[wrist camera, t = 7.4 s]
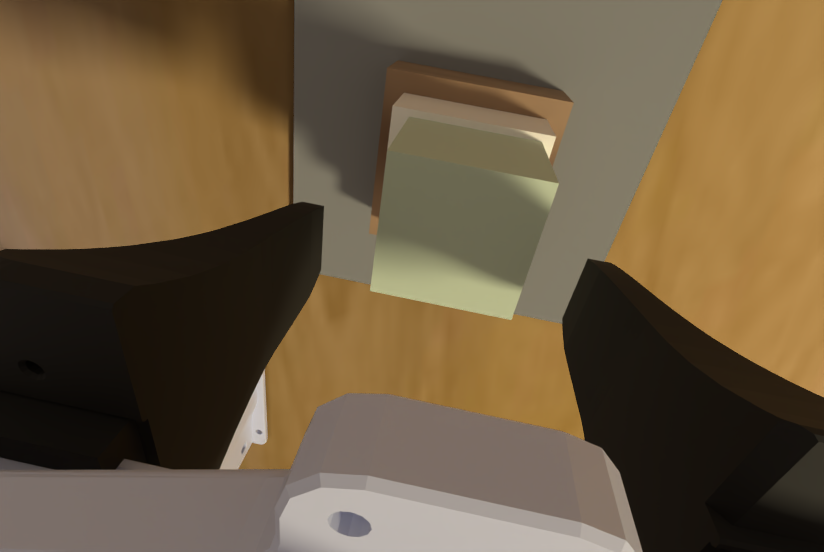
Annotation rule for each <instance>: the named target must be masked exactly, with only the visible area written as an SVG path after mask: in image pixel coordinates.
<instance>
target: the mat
mask: <svg viewBox="0 0 824 552" xmlns="http://www.w3.org/2000/svg"><path fill="white" fill-rule="evenodd" d="M721 2H722V0H294V189H293V204H294V203H298V202H307V203H312V204H317V205H322V206H324V219H323V241H322V263H321V271H320V274H322V275H327V276H332V277H337V278H341V279H346V280H351V281H356V282H361V283H366V284H371V279H372V271H373V263H374V255H375V246H376V238H377V235H374V234H369V229H370V220H371V210H372V201H373V192H374V183H375V174H376V165H377V156H378V147H379V137H380V128H381V119H382V110H383V101H384V92H385V83H386V73H387V68H388V67H389V66H391V65H392V64H393V63H395V62H396V61H398V60H399V61H404V62H410V63H415V64H421V65H426V66H431V67H437V68H442V69H447V70H453V71H458V72H464V73H469V74H474V75H480V76H485V77H490V78H496V79H501V80H507V81H512V82H517V83H523V84H528V85H534V86H539V87H544V88H550V89H555V90H560V91H564V92H565V93H566V94H567V96H568V97H569V98H570V99H571V100H572V101H573V102H574V103H573V106H572V109H571V112H570V116H569V119H568V122H567V125H566V128H565V131H564V134H563V137H562V140H561V143H560V146H559V149H558V152H557V155H556V158H555V161H554V164H553V170H554V172H555V175H556V177H557V180H558V182H559V185H558V188H557V191H556V194H555V197H554V200H553V203H552V205H551V208H550V211H549V214H548V217H547V220H546V223H545V225H544V228H543V231H542V234H541V237H540V240H539V243H538V245H537V248H536V251H535V254H534V257H533V260H532V263H531V265H530V268H529V271H528V274H527V277H526V280H525V283H524V286H523V288H522V291H521V294H520V297H519V300H518V303H517V306H516V308H515V311H514V314H517V315H522V316H527V317H532V318H536V319H541V320H546V321H551V322H556V323H561V324H562V318H563V315H564V313H565V311H566V308H567V306H568V304H569V301H570V299H571V297H572V294H573V292H574V290H575V287H576V285H577V282H578V280H579V278H580V275H581V273H582V271H583V268H584V266H585V264H586V261H587V259H593V260H598V261H603V262H604V261H605V259H606V256H607V254H608V252H609V250H610V248H611V245H612V243H613V241H614V239H615V236H616V234H617V232H618V230H619V228H620V225H621V223H622V221H623V219H624V217H625V214H626V212H627V210H628V208H629V206H630V203H631V201H632V199H633V197H634V195H635V192H636V190H637V188H638V186H639V183H640V181H641V179H642V177H643V175H644V172H645V170H646V168H647V166H648V164H649V161H650V159H651V157H652V155H653V153H654V150H655V148H656V146H657V144H658V142H659V139H660V137H661V135H662V133H663V130H664V128H665V126H666V124H667V122H668V119H669V117H670V115H671V113H672V111H673V108H674V106H675V104H676V102H677V100H678V97H679V95H680V93H681V91H682V89H683V86H684V84H685V82H686V80H687V77H688V75H689V73H690V71H691V69H692V66H693V64H694V62H695V60H696V58H697V55H698V53H699V51H700V49H701V47H702V44H703V42H704V40H705V38H706V36H707V33H708V31H709V29H710V27H711V24H712V22H713V20H714V18H715V16H716V13H717V11H718V9H719V7H720V5H721Z"/></svg>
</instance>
